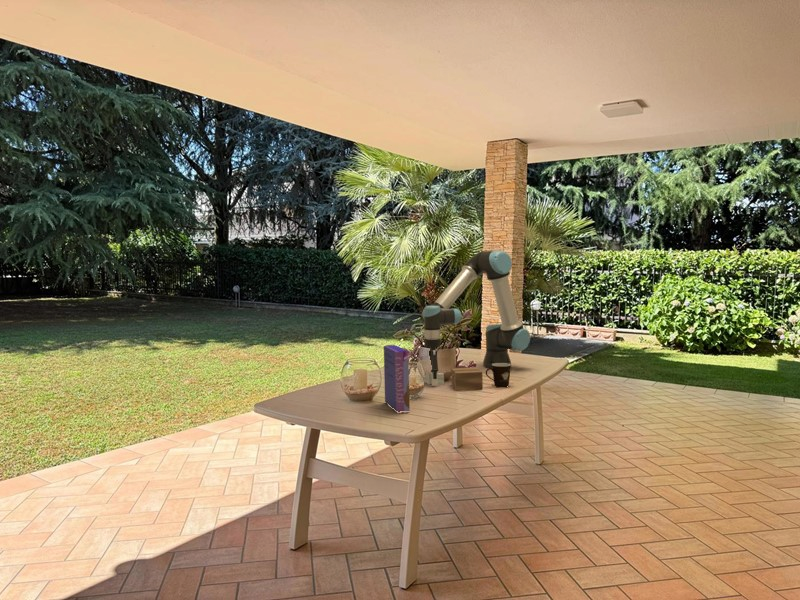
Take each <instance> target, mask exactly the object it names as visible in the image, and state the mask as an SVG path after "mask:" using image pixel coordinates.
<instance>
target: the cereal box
mask: <svg viewBox="0 0 800 600" xmlns="http://www.w3.org/2000/svg"><path fill="white" fill-rule="evenodd" d="M409 357H410V355H409V350H406V349H404V348H402V347H400V346H398V345H396V344H386V345H383V370H384V371H383V373H384V374H383V375H384V403H385V402H386V403H388V404H389V405H390V406H391V407H392V408H394V409H395V410H396V411H398V412H400V411H410V410H411V409H410V367H409V364H410V363H409ZM410 412H411V411H410Z"/></svg>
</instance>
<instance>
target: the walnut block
mask: <svg viewBox="0 0 800 600" xmlns="http://www.w3.org/2000/svg"><path fill="white" fill-rule="evenodd" d="M483 379H484V378H483V371H482V370H481V369H479V367H477V366H475V367H451V386H452V387H453V389H454V390H455V391H456V392H462V390H468V391H483V390H484V389H483V385H484V383H483V381H484V380H483ZM482 389H483V390H482Z"/></svg>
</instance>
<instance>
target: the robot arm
mask: <svg viewBox="0 0 800 600" xmlns="http://www.w3.org/2000/svg"><path fill="white" fill-rule="evenodd" d="M512 267H513V261H512V258H511V256H510V254H508V252H506V251H504V250H488V251H487V250H485V251H478V252H477V253H475V254H474V255H473V256H471V257H470V258H469V259H468V260H467V261H466V262H465V263H464V264H463V265H462V267H461V271H460V272H459V273H458V274H457V276H456V277H455V278H454V279H453V280H452V281H451V283H449V284H448V286H447V287H446V288H445V290H444V291H443V292H442V293H441V294H440V295H439V297H437V299H436V300H435V301H434V302H433V304H432V305H426V306H425V307H424V308H423V310H422V313H421V315H422V316H421V317H422V319H423V326H424V328H423V329H424V331H423V332H422V333H423V334H424V339H423V340H424V342H423V343H424V347H425V348H428V347H430V351H429V356H430V360H431V365H432V370H431V372H432V385H431V386H432V387H436V386H437V387H438V386H439V384H438V371H439V362H438V350H436V348H439V347H441V339H440V338H441V326H447V325H455V324H456V325H458V324H459V323H460V322H461V321H462V313H461V312H462V311H460V309H458V308H451V307H452V305H454V303H455V301H456V300H457V299H458V298H459V297H460V296H461V294H463V292H464V291H465V289H467V287H469V285H470V284H471V283H472V282H473V281H474V280H477V278H478V277H479V276H482V275H486V278H487V281H489V282H490V283H491V286H492V290H493V295H494V297H495V302H496V304H497V309H498V312H499V317H500V320H501V323H498V324H497V323H496V324H488V325H486V328H485V355H484V358H483V362H482V366H483V367H484V366H485V367H484V368H487V367H488V368H487V369H489V368H491V369H492V364H494V363H507V364H511V365H512V362H511V361H512V360H511V358H510V355H509V352H508V351H509V350H512V351H514V352H515V351H516V352H518V351H524V350H526V349H527V347H529V345H530V341H531V333H530V331H529V330H528V329H526V328H524V324H523V321H520V320H519V318H518V313H517V309H516V305H515V301H514V298H513V294H512V289H511V285H510V281H509V276H510V274H511V273H510V272H511V270H512Z"/></svg>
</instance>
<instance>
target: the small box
mask: <svg viewBox="0 0 800 600" xmlns="http://www.w3.org/2000/svg"><path fill="white" fill-rule="evenodd" d="M425 381H426V383H428V384H432V373H426V375H425ZM426 383H425V384H426ZM428 384H427V385H428ZM438 385H445V373H443V372H441V373H438Z"/></svg>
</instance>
